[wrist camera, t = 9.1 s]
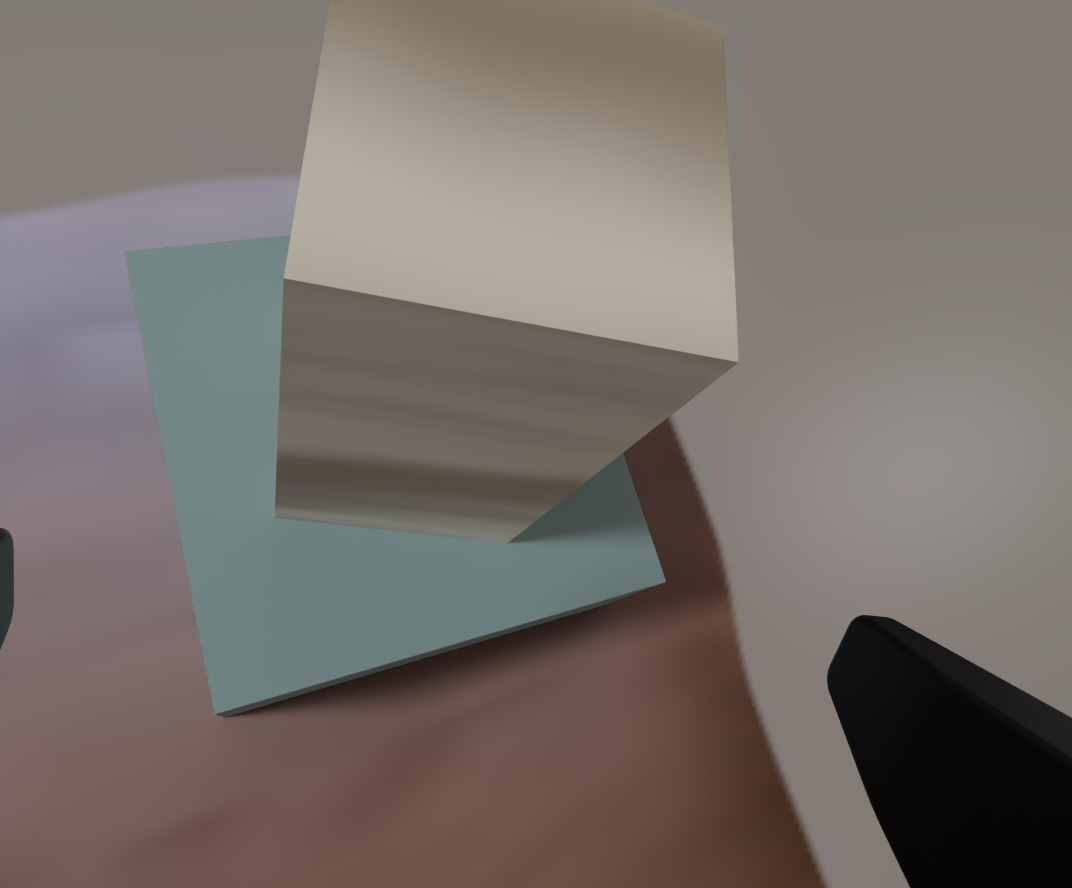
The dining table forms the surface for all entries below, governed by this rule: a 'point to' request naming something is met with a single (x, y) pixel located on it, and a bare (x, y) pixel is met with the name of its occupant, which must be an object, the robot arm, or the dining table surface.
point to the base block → (320, 548)
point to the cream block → (499, 257)
